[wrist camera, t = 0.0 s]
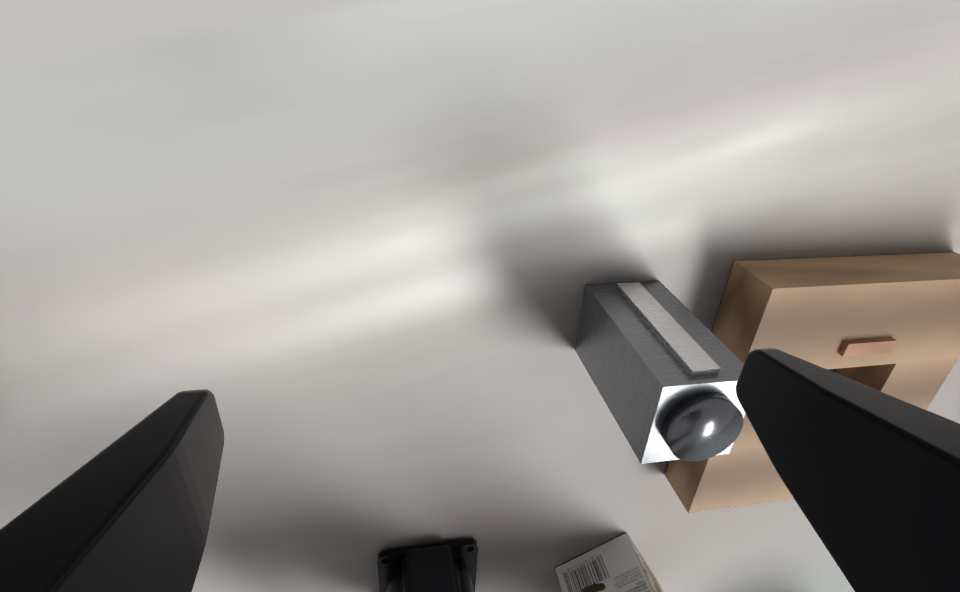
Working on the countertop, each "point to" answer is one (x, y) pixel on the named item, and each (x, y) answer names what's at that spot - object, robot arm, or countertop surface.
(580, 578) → the coffee box
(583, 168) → the countertop surface
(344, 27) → the countertop surface
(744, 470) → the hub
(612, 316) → the peg
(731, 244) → the countertop surface
